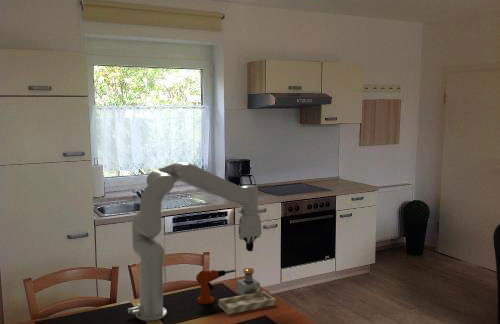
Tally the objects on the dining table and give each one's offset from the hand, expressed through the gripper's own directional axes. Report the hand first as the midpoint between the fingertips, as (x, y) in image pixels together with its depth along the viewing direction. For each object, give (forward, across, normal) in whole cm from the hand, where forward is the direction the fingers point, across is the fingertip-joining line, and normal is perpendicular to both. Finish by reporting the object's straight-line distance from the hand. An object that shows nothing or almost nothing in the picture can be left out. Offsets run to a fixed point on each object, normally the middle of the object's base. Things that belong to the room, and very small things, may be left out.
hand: (249, 250), depth 213 cm
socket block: (+21, -1, 0) cm, 21 cm away
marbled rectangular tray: (+21, -7, -12) cm, 25 cm away
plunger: (+18, -1, 0) cm, 18 cm away
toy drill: (+21, -18, -1) cm, 27 cm away
